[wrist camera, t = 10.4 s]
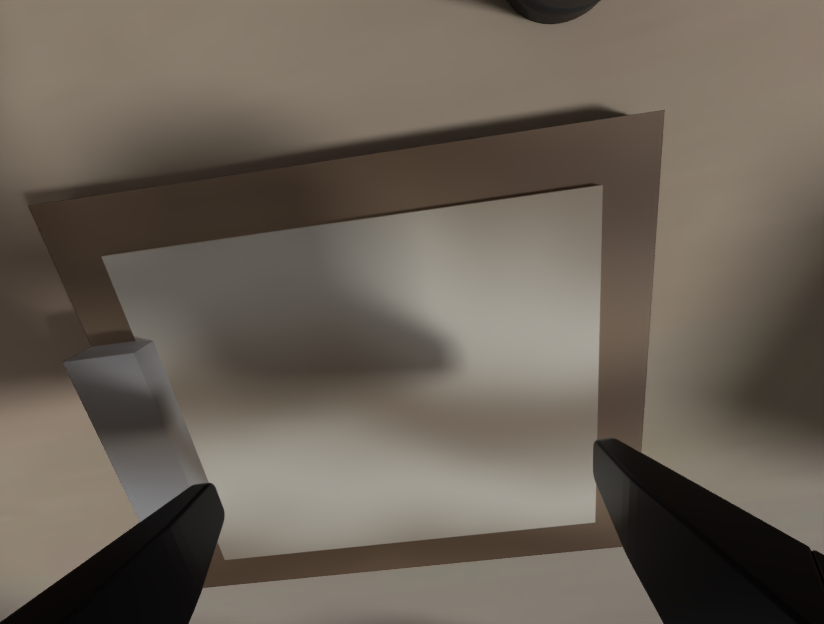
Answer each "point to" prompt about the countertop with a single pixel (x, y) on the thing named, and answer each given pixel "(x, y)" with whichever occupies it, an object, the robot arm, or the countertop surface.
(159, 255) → the clipboard
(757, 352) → the countertop surface
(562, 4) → the marker
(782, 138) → the countertop surface
